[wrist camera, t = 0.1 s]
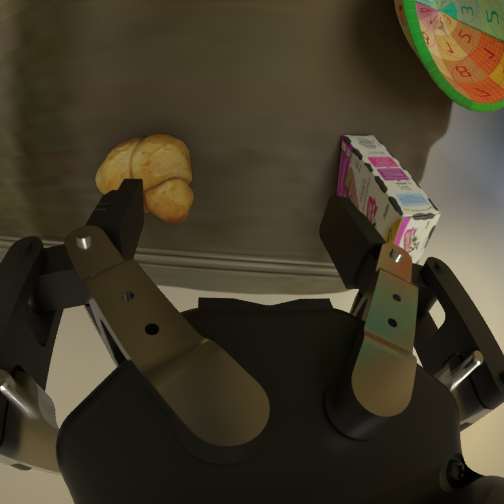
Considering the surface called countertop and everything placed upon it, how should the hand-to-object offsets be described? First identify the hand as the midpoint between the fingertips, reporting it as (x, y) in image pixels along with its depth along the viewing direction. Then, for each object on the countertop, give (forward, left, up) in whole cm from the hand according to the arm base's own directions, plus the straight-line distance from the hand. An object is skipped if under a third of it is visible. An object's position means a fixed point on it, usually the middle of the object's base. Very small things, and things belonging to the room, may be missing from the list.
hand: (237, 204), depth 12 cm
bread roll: (+13, -2, -23) cm, 27 cm away
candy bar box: (-2, +21, -23) cm, 31 cm away
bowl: (-27, +11, -23) cm, 36 cm away
